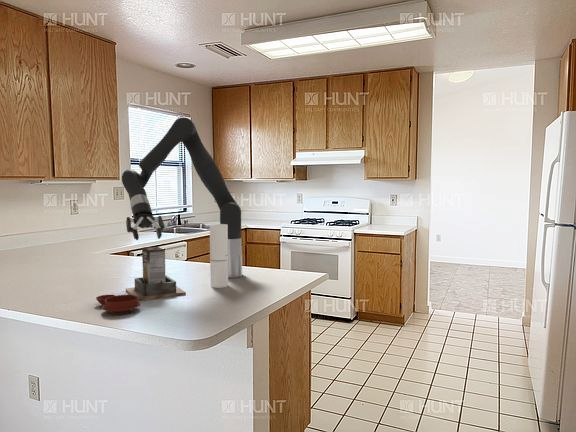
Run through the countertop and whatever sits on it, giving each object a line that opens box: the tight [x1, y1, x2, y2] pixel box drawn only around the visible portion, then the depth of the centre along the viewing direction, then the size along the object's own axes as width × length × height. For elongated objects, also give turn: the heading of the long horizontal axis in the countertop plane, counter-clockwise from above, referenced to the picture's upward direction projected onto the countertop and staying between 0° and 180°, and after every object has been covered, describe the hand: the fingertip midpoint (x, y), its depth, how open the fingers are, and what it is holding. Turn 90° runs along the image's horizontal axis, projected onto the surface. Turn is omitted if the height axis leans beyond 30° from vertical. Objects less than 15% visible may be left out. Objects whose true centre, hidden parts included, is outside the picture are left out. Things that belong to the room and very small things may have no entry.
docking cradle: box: [125, 274, 187, 302], centre depth 164 cm, size 18×18×5 cm
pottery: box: [95, 294, 142, 315], centre depth 143 cm, size 12×20×4 cm, turn 48°
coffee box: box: [141, 246, 166, 285], centre depth 164 cm, size 9×6×16 cm
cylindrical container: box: [209, 223, 229, 289], centre depth 175 cm, size 7×7×25 cm
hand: (148, 238), depth 170 cm, fingers open, 8 cm apart
